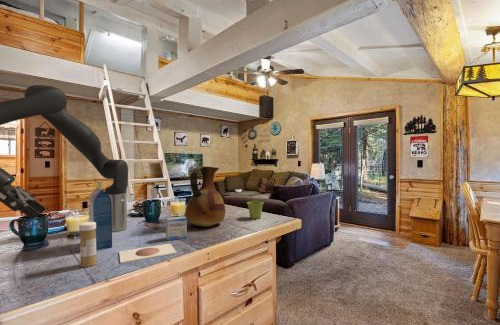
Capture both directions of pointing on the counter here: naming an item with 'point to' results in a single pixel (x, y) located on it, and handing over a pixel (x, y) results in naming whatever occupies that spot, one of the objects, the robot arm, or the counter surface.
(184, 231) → the medicine box
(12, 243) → the counter surface
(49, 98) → the robot arm
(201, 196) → the ceramic pitcher
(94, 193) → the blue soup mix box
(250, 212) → the plant pot
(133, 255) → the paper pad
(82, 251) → the sprinkles bottle
